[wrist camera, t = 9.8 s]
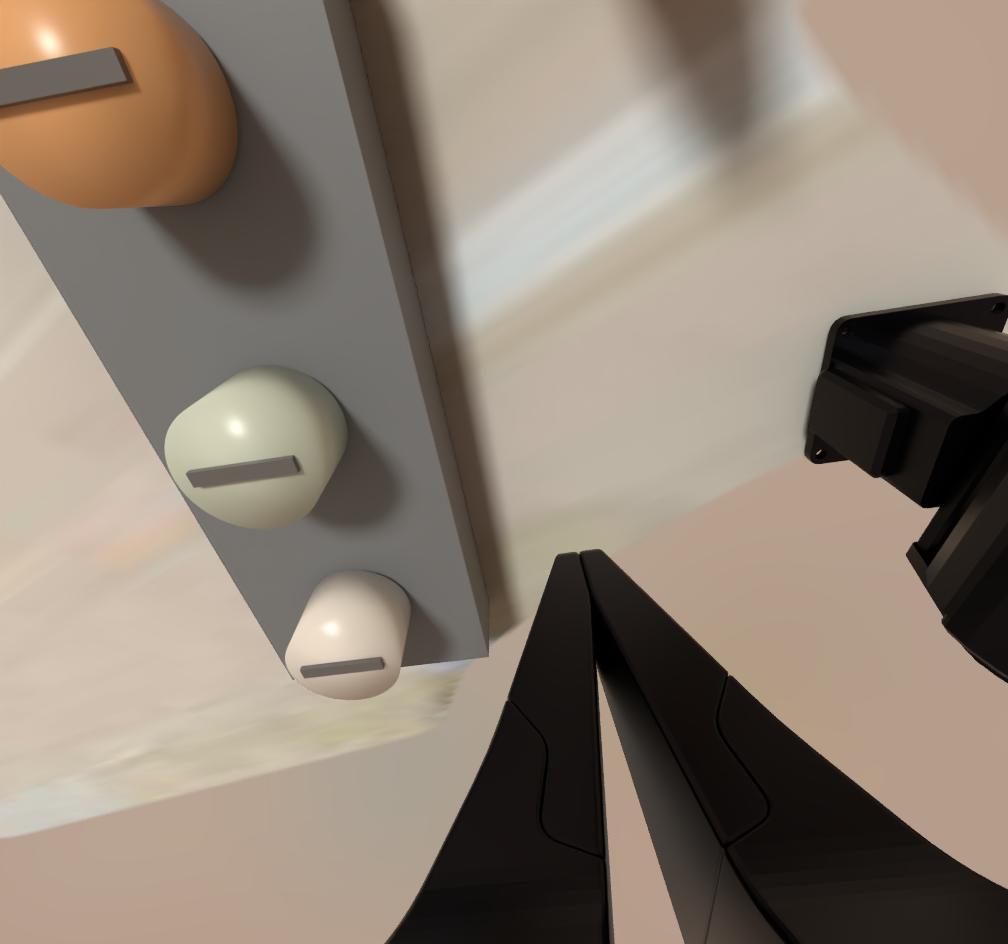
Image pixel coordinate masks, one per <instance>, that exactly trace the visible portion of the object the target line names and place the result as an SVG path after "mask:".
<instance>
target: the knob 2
mask: <svg viewBox="0 0 1008 944" xmlns="http://www.w3.org/2000/svg"><path fill="white" fill-rule="evenodd" d="M410 616H411V604H410V601H409V599H408V597H407V595H406V593H405V592H404V591H403V590H402V589H401V588H400V587H399V586H398V585H397V584H396V583H394V582H393V581H391V580H390V579H388V578H386V577H384V576H381V575H379V574H376V573H372V572H368V571H360V570H350V571H342V572H338V573H334V574H332V575H329V576H327V577H326V578H324V579H323V580H321V581H320V582H319V583H318V584H317V585H316V587H315V588H314V590H313V592H312V594H311V596H310V599H309V601H308V603H307V605H306V607H305V610H304V612H303V614H302V616H301V619H300V621H299V623H298V625H297V628H296V630H295V632H294V634H293V636H292V639H291V641H290V643H289V645H288V648H287V650H286V654H285V663H286V666H287V669H288V671H289V672H290V674H291V675H292V677H293V678H294V679H295V680H296V681H297V682H299V683H300V684H301V685H302V686H304V687H305V688H307V689H309V690H311V691H313V692H315V693H317V694H320V695H323V696H326V697H330V698H335V699H343V700H359V699H366V698H370V697H374V696H377V695H379V694H381V693H383V692H385V691H387V690H388V689H389V688H390V687H392V686H393V685H394V683H395V682H396V680H397V679H398V676H399V673H400V668H401V663H402V658H403V652H404V647H405V642H406V637H407V632H408V626H409V621H410Z"/></svg>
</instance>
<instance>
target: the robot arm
mask: <svg viewBox="0 0 1008 944" xmlns="http://www.w3.org/2000/svg"><path fill="white" fill-rule="evenodd" d="M995 304H996V306H995V308H994V309H993V310H992V311H991V309H992V308H993V306H994V305H995ZM1007 318H1008V295H1004V294H999V293H992V294H985V295H979V296H972V297H966V298H959V299H952V300H946V301H939V302H933V303H926V304H920V305H913V306H906V307H900V308H893V309H887V310H880V311H873V312H867V313H860V314H854V315H847V316H843V317H840V318H839V319H837V320H836V321H835V322H834V323H833V325H832V326H831V328H830V331H829V336H828V341H827V346H826V351H825V356H824V361H823V366H822V371H821V374H820V375H819V377H818V382H817V387H816V392H815V397H814V402H813V407H812V411H811V416H810V421H809V427H808V428H809V434H808V439H807V444H806V449H805V456H806V457H807V459H809V460H810V461H811V462H813V463H815V464H823V463H831V462H838V461H845V460H850V461H852V462H853V463H854V464H856V465H857V466H858V467H860V468H861V469H862V470H864V471H865V472H866V473H868V474H869V475H870V476H872V477H874V478H879V477H881V478H883V479H884V480H885V481H887V482H888V483H890V484H891V485H892V486H894V487H895V488H896V489H898V490H899V491H900V492H902V493H903V494H905V495H906V496H907V497H909V498H910V499H911V500H913V501H914V502H915V503H917V504H918V505H919V506H921V507H922V508H933V507H939V509H938V511H937V512H936V514H935V515H934V517H933V518H932V520H931V522H930V523H929V525H928V526H927V528H926V529H925V531H924V533H923V534H922V536H921V537H920V539H919V541H918V542H914V543H913V544H912V545H911V547H910V549H909V550H908V552H907V553H906V557H907V558H908V560H909V561H910V563H911V565H912V566H913V568H914V570H915V571H916V573H917V574H918V576H919V578H920V579H921V581H922V583H923V584H924V586H925V588H926V589H927V591H928V593H929V594H930V596H931V597H932V599H933V601H934V602H935V604H936V606H937V607H938V609H939V610H940V612H941V614H942V615H943V619H942V624H943V625H944V627H945V629H946V630H947V632H948V633H949V634H950V635H951V636H952V637H954V638H955V639H956V640H957V641H958V642H959V643H960V644H961V645H962V646H963V647H964V649H965V650H966V651H967V652H968V653H969V654H970V655H971V656H972V657H973V658H974V659H975V660H976V661H977V662H978V663H979V664H981V665H982V666H984V667H985V668H987V669H988V670H989V671H990V672H992V673H993V674H994V675H996V676H997V677H999V678H1001V679H1002V680H1004V681H1005V682H1007V683H1008V334H1005V333H1002V331H1003V329H1004V326H1005V324H1006V321H1007ZM848 325H849V330H848V331H847V332H846V333H845V334H842V332H843V330H844V328H845V327H846V326H848ZM819 450H822V451H821V452H820V453H819V454H817V455H816V453H817V452H818V451H819ZM596 664H597V667H596ZM597 669H598V672H599V676H600V679H601V683H602V685H603V689H604V692H605V695H606V698H607V701H608V705H609V708H610V711H611V714H612V717H613V720H614V723H615V727H616V730H617V733H618V736H619V739H620V742H621V745H622V748H623V752H624V755H625V758H626V761H627V764H628V767H629V770H630V773H631V777H632V780H633V783H634V786H635V789H636V792H637V795H638V799H639V802H640V805H641V808H642V811H643V814H644V817H645V821H646V824H647V826H648V830H649V833H650V836H651V839H652V843H653V846H654V849H655V852H656V855H657V858H658V861H659V865H660V868H661V871H662V874H663V877H664V880H665V883H666V886H667V890H668V893H669V896H670V899H671V902H672V905H673V908H674V911H675V914H676V918H677V920H678V924H679V927H680V930H681V933H682V937H683V939H684V943H685V944H1008V889H1006V888H1004V887H1002V886H1000V885H998V884H996V883H994V882H992V881H990V880H989V879H987V878H985V877H983V876H981V875H979V874H978V873H976V872H974V871H972V870H971V869H969V868H968V867H966V866H965V865H963V864H961V863H960V862H958V861H957V860H955V859H953V858H952V857H951V856H949V855H948V854H946V853H945V852H943V851H942V850H940V849H939V848H938V847H936V846H935V845H933V844H932V843H931V842H929V841H928V840H927V839H925V838H924V837H923V836H921V835H920V834H919V833H918V832H916V831H915V830H914V829H912V828H911V827H910V826H909V825H907V824H906V823H905V822H904V821H902V820H901V819H900V818H898V816H896V815H895V814H894V813H893V812H891V811H890V810H889V809H887V808H886V807H885V806H883V804H881V803H880V802H879V801H878V800H876V799H875V798H874V797H873V796H871V795H870V794H869V793H868V792H866V791H865V790H864V789H863V788H861V787H860V786H859V785H858V784H857V783H855V782H854V781H853V780H851V779H850V778H849V777H848V776H847V775H845V774H844V773H843V772H841V771H840V770H839V769H838V768H837V767H835V766H834V765H833V764H832V763H830V762H829V761H828V760H827V759H825V758H824V757H823V756H822V755H820V754H819V753H818V752H817V751H816V750H814V749H813V748H812V747H811V746H809V745H808V744H807V743H806V742H805V741H804V740H802V739H801V738H800V737H798V735H796V734H795V733H794V732H793V731H792V730H790V729H789V728H788V727H787V726H786V725H784V724H783V723H782V722H781V721H780V720H778V719H777V718H776V717H775V716H774V715H773V714H772V713H771V712H770V711H769V710H767V708H765V707H764V706H763V705H762V704H761V703H760V702H759V701H758V700H757V699H755V697H754V696H752V695H751V694H750V693H749V692H748V691H747V690H746V689H745V688H744V687H743V686H742V685H741V684H740V683H739V682H738V681H737V680H736V679H735V678H734V677H733V676H731V675H729V676H728V672H727V671H726V670H725V669H724V668H723V667H722V666H721V665H720V664H719V663H718V662H717V661H716V660H715V659H714V658H713V657H712V656H711V655H710V654H709V653H708V652H707V651H706V650H705V649H704V648H703V647H702V646H700V645H699V644H698V643H697V642H696V641H695V640H694V639H693V638H692V637H691V636H690V635H689V634H688V633H687V632H686V631H685V630H684V629H683V628H682V627H681V626H680V625H679V624H678V623H676V621H674V619H673V618H672V617H671V616H670V615H668V614H667V613H666V612H665V611H664V610H663V609H662V608H661V607H660V606H659V605H658V604H657V603H656V602H655V601H654V600H653V599H652V598H651V597H650V596H649V595H648V594H647V593H646V592H645V591H644V590H643V589H642V588H641V587H639V586H638V585H637V584H636V583H635V582H634V581H633V580H632V579H631V578H630V577H629V576H628V575H627V574H626V573H625V572H624V571H623V570H622V569H621V568H619V566H618V565H617V564H616V563H615V562H614V561H613V560H612V559H611V558H610V557H608V556H607V555H606V554H605V553H604V552H603V551H602V550H600V549H593V550H585V551H581V552H580V554H578V553H577V552H570V553H562V554H558V555H557V556H556V558H555V561H554V564H553V567H552V569H551V572H550V575H549V578H548V581H547V584H546V587H545V590H544V593H543V595H542V598H541V601H540V604H539V607H538V610H537V613H536V616H535V619H534V622H533V624H532V627H531V630H530V633H529V636H528V639H527V642H526V645H525V648H524V650H523V653H522V656H521V659H520V662H519V665H518V668H517V671H516V674H515V677H514V679H513V682H512V685H511V688H510V691H509V694H508V700H507V701H506V702H505V705H504V708H503V711H502V714H501V716H500V719H499V722H498V725H497V727H496V730H495V732H494V735H493V738H492V740H491V743H490V745H489V748H488V751H487V753H486V755H485V757H484V760H483V762H482V764H481V766H480V769H479V771H478V773H477V775H476V777H475V779H474V782H473V784H472V786H471V788H470V790H469V792H468V794H467V796H466V798H465V800H464V802H463V804H462V806H461V808H460V810H459V812H458V815H457V817H456V819H455V821H454V823H453V825H452V827H451V829H450V831H449V833H448V835H447V837H446V839H445V841H444V843H443V845H442V847H441V849H440V851H439V853H438V855H437V857H436V859H435V861H434V863H433V865H432V867H431V869H430V871H429V873H428V875H427V877H426V879H425V881H424V883H423V885H422V887H421V889H420V891H419V893H418V894H417V896H416V898H415V900H414V901H413V903H412V905H411V907H410V908H409V910H408V911H407V913H406V914H405V916H404V918H403V919H402V921H401V922H400V924H399V925H398V927H397V928H396V929H395V931H394V932H393V933H392V935H391V936H390V937H389V939H388V940H387V941H386V943H385V944H615V943H614V929H613V913H612V898H611V883H610V866H609V850H608V835H607V819H606V804H605V789H604V773H603V757H602V742H601V726H600V712H599V695H598V680H597Z"/></svg>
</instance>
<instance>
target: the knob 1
mask: <svg viewBox="0 0 1008 944" xmlns="http://www.w3.org/2000/svg"><path fill="white" fill-rule="evenodd" d="M237 145H238V127H237V117H236V112H235V107H234V102H233V99H232V96H231V92H230V89H229V87H228V84H227V82H226V79H225V77H224V74H223V72H222V70H221V68H220V67H219V65H218V63H217V61H216V59H215V58H214V56H213V54H212V53H211V51H210V50H209V48H208V46H207V45H206V44H205V43H204V41H203V40H202V39H201V37H200V36H199V35H198V34H197V32H196V31H195V30H194V29H193V28H192V27H191V26H190V25H189V24H188V23H187V22H186V21H185V20H184V19H183V18H182V17H181V16H180V15H179V14H177V13H176V12H175V11H174V10H173V9H171V8H170V7H168V6H167V5H166V4H164V3H163V2H161V1H160V0H0V165H1V166H2V167H3V168H4V169H6V170H7V171H8V172H9V173H11V174H12V175H13V176H14V177H16V178H17V179H19V180H20V181H22V182H23V183H25V184H26V185H28V186H29V187H31V188H33V189H35V190H36V191H38V192H40V193H42V194H43V195H46V196H48V197H50V198H53V199H55V200H57V201H60V202H63V203H66V204H69V205H73V206H77V207H83V208H90V209H114V208H137V207H160V206H180V205H189V204H193V203H197V202H200V201H202V200H204V199H206V198H208V197H209V196H211V195H212V194H214V193H215V192H216V191H217V190H218V189H219V188H220V187H221V186H222V185H223V183H224V182H225V180H226V179H227V177H228V176H229V173H230V171H231V169H232V167H233V164H234V160H235V157H236V151H237Z"/></svg>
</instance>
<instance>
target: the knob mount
mask: <svg viewBox="0 0 1008 944" xmlns="http://www.w3.org/2000/svg"><path fill="white" fill-rule="evenodd" d="M160 1H161V2H163V3H164V4H166V5H167V6H168V7H170V8H171V9H173V10H174V11H175V12H176V13H177V14H179V15H180V16H181V17H182V18H183V19H184V20H185V21H186V22H187V23H188V24H189V25H190V26H191V27H192V28H193V29H194V30H195V31H196V32H197V34H198V35H199V36H200V37H201V39H202V40H203V41H204V43H205V44H206V45H207V46H208V48H209V50H210V51H211V53H212V54H213V56H214V58H215V59H216V61H217V63H218V65H219V67H220V68H221V70H222V72H223V74H224V77H225V79H226V82H227V84H228V87H229V89H230V92H231V96H232V99H233V102H234V107H235V112H236V117H237V127H238V145H237V151H236V157H235V160H234V164H233V167H232V169H231V171H230V173H229V176H228V177H227V179H226V180H225V182H224V183H223V185H222V186H221V187H220V188H219V189H218V190H217V191H216V192H215V193H214V194H212V195H211V196H209V197H208V198H206V199H204V200H202V201H200V202H197V203H193V204H189V205H180V206H160V207H137V208H114V209H90V208H83V207H77V206H73V205H69V204H66V203H63V202H60V201H57V200H55V199H53V198H50V197H48V196H46V195H43V194H42V193H40V192H38V191H36V190H35V189H33V188H31V187H29V186H28V185H26V184H25V183H23V182H22V181H20V180H19V179H17V178H16V177H14V176H13V175H12V174H11V173H9V172H8V171H7V170H6V169H4V168H3V167H2V166H1V165H0V194H1V195H2V197H3V199H4V200H5V202H6V204H7V205H8V207H9V209H10V210H11V212H12V214H13V215H14V217H15V219H16V220H17V222H18V224H19V225H20V227H21V229H22V230H23V232H24V234H25V235H26V237H27V239H28V240H29V242H30V244H31V245H32V247H33V249H34V250H35V252H36V254H37V255H38V257H39V259H40V260H41V262H42V264H43V265H44V267H45V269H46V270H47V272H48V274H49V275H50V277H51V279H52V280H53V282H54V284H55V285H56V287H57V289H58V290H59V292H60V294H61V295H62V297H63V298H64V300H65V302H66V303H67V305H68V307H69V308H70V310H71V312H72V313H73V315H74V317H75V318H76V320H77V322H78V323H79V325H80V327H81V328H82V330H83V332H84V333H85V335H86V337H87V338H88V340H89V342H90V343H91V345H92V347H93V348H94V350H95V352H96V353H97V355H98V357H99V358H100V360H101V362H102V363H103V365H104V367H105V368H106V370H107V372H108V373H109V375H110V377H111V378H112V380H113V382H114V383H115V385H116V387H117V388H118V390H119V392H120V393H121V395H122V397H123V398H124V400H125V402H126V403H127V405H128V407H129V408H130V410H131V412H132V413H133V415H134V417H135V418H136V420H137V422H138V423H139V425H140V427H141V428H142V430H143V431H144V433H145V435H146V436H147V438H148V440H149V441H150V443H151V445H152V446H153V448H154V450H155V451H156V453H157V455H158V456H159V458H160V460H161V461H162V463H163V465H164V466H165V468H166V470H167V471H168V473H169V475H170V476H171V478H172V480H173V481H174V479H173V477H172V475H171V473H170V471H169V468H168V466H167V463H166V458H165V448H164V446H165V438H166V435H167V431H168V429H169V427H170V425H171V423H172V422H173V421H174V420H175V418H176V417H177V416H178V415H179V414H181V413H182V412H183V411H184V410H186V409H187V408H188V407H190V406H191V405H193V404H194V403H195V402H197V401H198V400H200V399H201V398H203V397H204V396H205V395H207V394H208V393H210V392H211V391H212V390H214V389H215V388H217V387H218V386H219V385H221V384H222V383H224V382H225V381H226V380H228V379H229V378H231V377H232V376H234V375H235V374H237V373H238V372H240V371H242V370H244V369H247V368H249V367H253V366H258V365H278V366H284V367H288V368H291V369H295V370H297V371H300V372H302V373H304V374H306V375H308V376H310V377H311V378H313V379H314V380H316V381H317V382H319V383H320V384H321V385H322V386H323V387H325V388H326V389H327V390H328V391H329V392H330V393H331V395H332V396H333V397H334V398H335V400H336V401H337V402H338V404H339V406H340V408H341V409H342V411H343V414H344V416H345V419H346V423H347V428H348V442H347V447H346V450H345V453H344V455H343V456H342V458H341V460H340V462H339V464H338V465H337V467H336V469H335V471H334V472H333V474H332V476H331V478H330V480H329V481H328V483H327V485H326V487H325V488H324V490H323V492H322V494H321V495H320V497H319V499H318V501H317V503H316V504H315V506H314V507H313V509H312V510H311V511H310V512H309V513H308V514H307V515H306V516H305V517H303V518H302V519H300V520H299V521H297V522H295V523H293V524H291V525H288V526H285V527H281V528H276V529H251V528H245V527H240V526H236V525H233V524H230V523H227V522H225V521H222V520H220V519H218V518H216V517H214V516H212V515H210V514H208V513H207V512H205V511H204V510H202V509H201V508H200V507H198V506H197V505H196V504H194V503H193V502H192V501H191V500H190V499H189V498H188V497H187V496H186V495H185V494H184V493H183V492H182V490H181V489H180V488H179V487H178V485H177V484H176V482H175V481H174V483H175V485H176V486H177V488H178V490H179V491H180V493H181V495H182V496H183V498H184V500H185V501H186V503H187V505H188V506H189V508H190V510H191V511H192V513H193V515H194V516H195V518H196V520H197V521H198V523H199V525H200V526H201V528H202V530H203V531H204V533H205V535H206V536H207V538H208V540H209V541H210V543H211V545H212V546H213V548H214V550H215V551H216V553H217V555H218V556H219V558H220V560H221V561H222V563H223V565H224V566H225V568H226V569H227V571H228V573H229V574H230V576H231V578H232V579H233V581H234V583H235V584H236V586H237V588H238V589H239V591H240V593H241V594H242V596H243V598H244V599H245V601H246V603H247V604H248V606H249V608H250V609H251V611H252V613H253V614H254V616H255V618H256V619H257V621H258V623H259V624H260V626H261V628H262V629H263V631H264V633H265V634H266V636H267V638H268V639H269V641H270V643H271V644H272V646H273V648H274V649H275V651H276V653H277V654H278V656H279V658H280V659H281V661H282V663H283V664H284V666H285V668H286V669H287V666H286V663H285V654H286V650H287V648H288V645H289V643H290V641H291V639H292V636H293V634H294V632H295V630H296V628H297V625H298V623H299V621H300V619H301V616H302V614H303V612H304V610H305V607H306V605H307V603H308V601H309V599H310V596H311V594H312V592H313V590H314V588H315V587H316V585H317V584H318V583H319V582H320V581H321V580H323V579H324V578H326V577H327V576H329V575H332V574H334V573H338V572H342V571H350V570H360V571H368V572H372V573H376V574H379V575H381V576H384V577H386V578H388V579H390V580H391V581H393V582H394V583H396V584H397V585H398V586H399V587H400V588H401V589H402V590H403V591H404V592H405V593H406V595H407V597H408V599H409V601H410V604H411V616H410V621H409V626H408V632H407V637H406V642H405V647H404V652H403V658H402V663H401V667H405V666H414V665H423V664H431V663H440V662H448V661H457V660H465V659H474V658H482V657H488V656H489V601H488V597H487V592H486V588H485V584H484V579H483V575H482V571H481V566H480V562H479V558H478V553H477V549H476V545H475V540H474V536H473V532H472V527H471V523H470V519H469V514H468V510H467V506H466V501H465V497H464V493H463V489H462V484H461V480H460V476H459V471H458V467H457V463H456V458H455V454H454V450H453V445H452V441H451V437H450V432H449V428H448V424H447V419H446V415H445V411H444V406H443V402H442V398H441V393H440V389H439V385H438V380H437V376H436V372H435V368H434V363H433V359H432V355H431V350H430V346H429V342H428V337H427V333H426V329H425V324H424V320H423V316H422V311H421V307H420V303H419V298H418V294H417V290H416V285H415V281H414V277H413V272H412V268H411V264H410V260H409V255H408V251H407V247H406V242H405V238H404V234H403V229H402V225H401V221H400V216H399V212H398V208H397V203H396V199H395V195H394V190H393V186H392V182H391V177H390V173H389V169H388V164H387V160H386V156H385V152H384V147H383V143H382V139H381V134H380V130H379V126H378V121H377V117H376V113H375V108H374V104H373V100H372V95H371V91H370V87H369V82H368V78H367V74H366V69H365V65H364V61H363V56H362V52H361V48H360V43H359V39H358V35H357V31H356V26H355V22H354V18H353V13H352V9H351V5H350V0H160ZM287 671H288V669H287ZM288 673H289V674H290V672H289V671H288ZM290 676H291V678H292V679H293V680H294V678H293V677H292V675H291V674H290Z"/></svg>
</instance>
